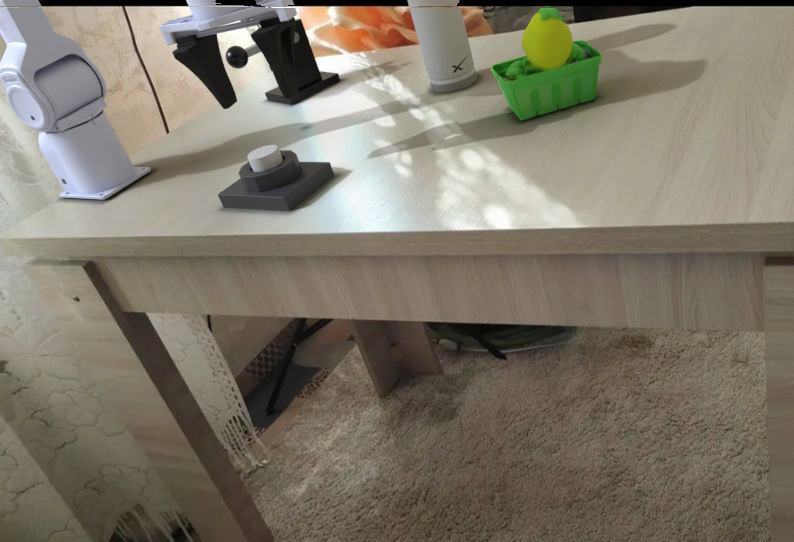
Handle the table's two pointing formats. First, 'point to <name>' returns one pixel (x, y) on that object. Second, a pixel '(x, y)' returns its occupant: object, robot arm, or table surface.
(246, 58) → the flush lever
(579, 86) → the fruit basket
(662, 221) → the table surface
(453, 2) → the travel mug
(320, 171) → the push button base
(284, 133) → the table surface
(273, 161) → the white push button
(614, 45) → the table surface
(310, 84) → the black lever base
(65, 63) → the robot arm
